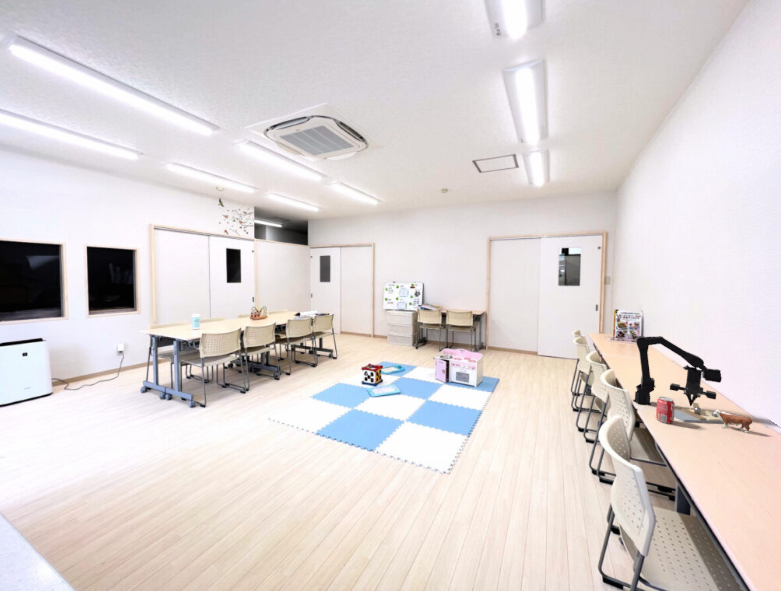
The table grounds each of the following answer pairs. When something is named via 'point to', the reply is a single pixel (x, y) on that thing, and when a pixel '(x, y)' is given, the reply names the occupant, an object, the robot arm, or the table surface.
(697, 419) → the door mockup
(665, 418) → the soda can
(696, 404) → the latch bar
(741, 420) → the bull figurine
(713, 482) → the table surface
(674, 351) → the robot arm
